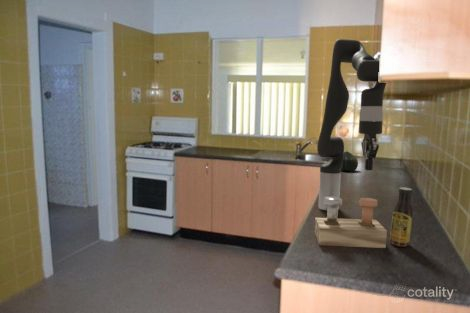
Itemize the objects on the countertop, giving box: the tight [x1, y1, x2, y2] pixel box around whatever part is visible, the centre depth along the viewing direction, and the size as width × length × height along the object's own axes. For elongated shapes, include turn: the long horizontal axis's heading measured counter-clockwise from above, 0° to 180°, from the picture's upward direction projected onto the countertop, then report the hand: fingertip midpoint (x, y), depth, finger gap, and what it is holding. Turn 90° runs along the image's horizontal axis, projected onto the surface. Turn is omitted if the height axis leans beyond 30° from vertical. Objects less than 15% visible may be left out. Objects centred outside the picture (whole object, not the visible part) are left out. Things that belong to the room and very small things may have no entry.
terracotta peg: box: [358, 197, 378, 223], centre depth 130 cm, size 6×6×8 cm
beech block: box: [314, 217, 388, 249], centre depth 131 cm, size 12×22×6 cm, turn 86°
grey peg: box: [324, 197, 343, 222], centre depth 130 cm, size 6×6×8 cm
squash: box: [341, 150, 359, 173], centre depth 274 cm, size 14×15×15 cm
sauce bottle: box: [389, 186, 414, 248], centre depth 127 cm, size 7×6×20 cm
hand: (368, 170), depth 129 cm, fingers closed
